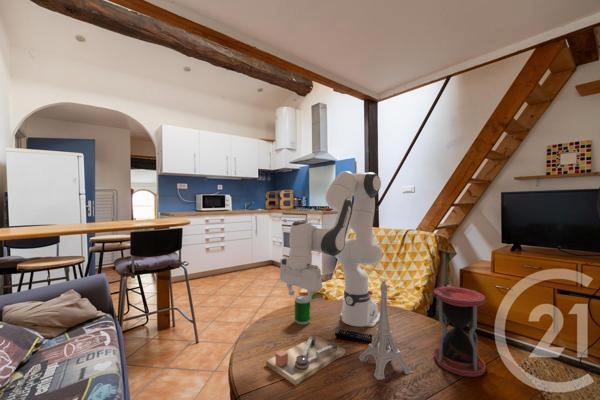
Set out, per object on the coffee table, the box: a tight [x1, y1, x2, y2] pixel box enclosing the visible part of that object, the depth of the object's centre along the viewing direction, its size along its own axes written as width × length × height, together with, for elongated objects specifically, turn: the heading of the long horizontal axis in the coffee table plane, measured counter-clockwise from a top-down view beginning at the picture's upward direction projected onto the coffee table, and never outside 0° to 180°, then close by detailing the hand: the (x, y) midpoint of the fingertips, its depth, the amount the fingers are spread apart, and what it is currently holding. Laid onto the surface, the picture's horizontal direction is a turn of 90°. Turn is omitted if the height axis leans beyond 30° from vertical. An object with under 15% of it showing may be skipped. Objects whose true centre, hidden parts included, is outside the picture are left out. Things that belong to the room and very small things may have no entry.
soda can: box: [294, 294, 311, 326], centre depth 133 cm, size 8×8×12 cm
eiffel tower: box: [357, 279, 414, 381], centre depth 98 cm, size 13×13×30 cm
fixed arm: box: [295, 341, 338, 370], centre depth 100 cm, size 19×5×2 cm, turn 128°
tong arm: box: [296, 335, 316, 365], centre depth 102 cm, size 18×4×2 cm, turn 166°
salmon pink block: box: [275, 349, 288, 367], centre depth 96 cm, size 3×3×4 cm
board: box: [265, 335, 346, 386], centre depth 102 cm, size 26×15×2 cm, turn 134°
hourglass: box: [432, 286, 486, 378], centre depth 99 cm, size 16×16×25 cm
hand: (299, 298), depth 108 cm, fingers open, 8 cm apart
